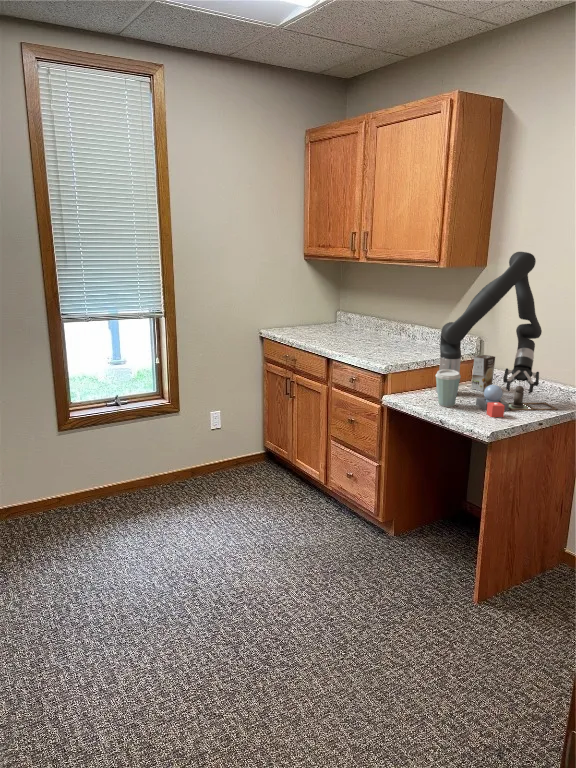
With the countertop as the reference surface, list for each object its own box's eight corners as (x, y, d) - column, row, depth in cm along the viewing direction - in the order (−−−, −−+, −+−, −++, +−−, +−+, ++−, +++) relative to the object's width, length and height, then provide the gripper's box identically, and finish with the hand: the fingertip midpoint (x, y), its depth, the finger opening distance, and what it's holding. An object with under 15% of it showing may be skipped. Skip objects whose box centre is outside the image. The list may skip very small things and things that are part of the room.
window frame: (510, 410, 238) (510, 409, 238) (500, 404, 248) (500, 402, 248) (557, 410, 240) (557, 408, 240) (545, 403, 250) (545, 402, 249)
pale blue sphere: (487, 406, 238) (489, 387, 236) (479, 401, 246) (481, 382, 244) (504, 406, 239) (506, 387, 237) (496, 401, 246) (498, 382, 244)
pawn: (514, 408, 241) (517, 387, 239) (509, 405, 246) (511, 384, 243) (525, 408, 241) (528, 387, 239) (520, 405, 246) (522, 384, 244)
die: (491, 417, 228) (492, 405, 227) (486, 414, 233) (487, 402, 232) (503, 417, 228) (504, 405, 227) (498, 413, 233) (499, 401, 232)
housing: (485, 410, 237) (486, 404, 237) (475, 404, 247) (476, 397, 246) (508, 410, 238) (509, 403, 237) (497, 404, 248) (498, 397, 247)
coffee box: (482, 391, 269) (486, 358, 265) (470, 389, 273) (473, 356, 270) (492, 388, 275) (495, 356, 271) (480, 386, 280) (483, 354, 276)
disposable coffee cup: (459, 409, 239) (462, 375, 235) (433, 407, 241) (436, 373, 237) (457, 402, 249) (460, 369, 245) (432, 401, 251) (434, 368, 247)
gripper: (507, 354, 249) (501, 384, 242) (542, 357, 243) (537, 388, 236) (506, 363, 255) (501, 393, 248) (540, 367, 249) (536, 398, 242)
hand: (519, 391), depth 242 cm, fingers open, 8 cm apart
